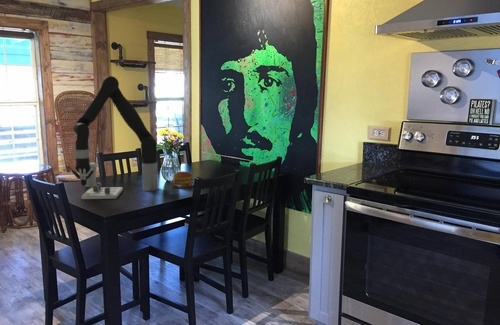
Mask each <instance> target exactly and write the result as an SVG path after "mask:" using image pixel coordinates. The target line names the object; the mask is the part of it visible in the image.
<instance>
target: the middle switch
mask: <svg viewBox="0 0 500 325" xmlns="http://www.w3.org/2000/svg"><path fill="white" fill-rule="evenodd" d="M92 188H93V191H98V190H99V185H97V184H96V185H94V186H93V187H92Z"/></svg>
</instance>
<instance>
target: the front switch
mask: <svg viewBox="0 0 500 325" xmlns="http://www.w3.org/2000/svg"><path fill="white" fill-rule="evenodd" d="M109 193H110V187H109V186H106V188H105V194H109Z"/></svg>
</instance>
